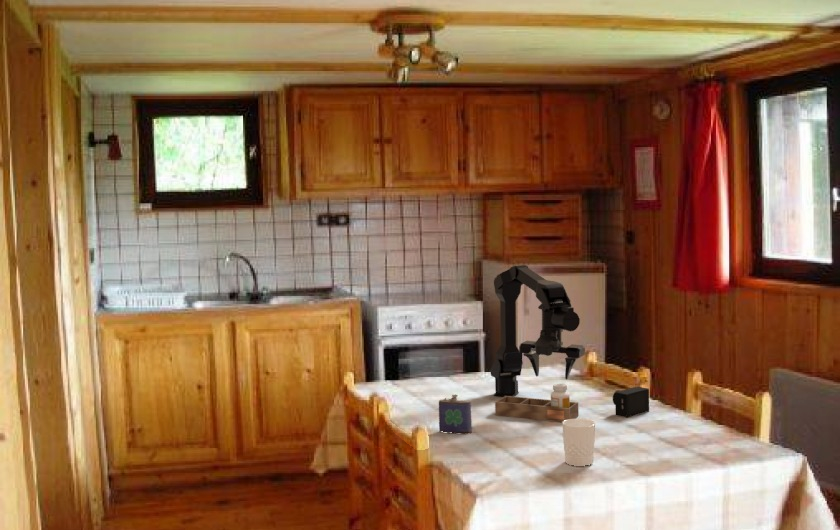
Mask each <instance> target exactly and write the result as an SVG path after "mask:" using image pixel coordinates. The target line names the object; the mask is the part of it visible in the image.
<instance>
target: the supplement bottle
mask: <svg viewBox="0 0 840 530" xmlns="http://www.w3.org/2000/svg"><path fill="white" fill-rule="evenodd" d="M552 390H553V391H552V392H551V393H550V400H551V407H560V408H569V407H570V402H571V400H570V393H569V391H568V384H565V383H554V384H552Z"/></svg>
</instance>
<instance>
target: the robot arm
mask: <svg viewBox="0 0 840 530" xmlns="http://www.w3.org/2000/svg"><path fill="white" fill-rule="evenodd" d="M523 285H524V286H526V287H527V288H529V289H530V290H532V291H533V292H534V293H535V297H536V299H537V300H538V301H539V302H540V303H541V304H539V306H538V310H541V330H540V332H539V337H538V338H537V339H536V341H535V340H526V341H523V342H521V343H520V344H519V346H517V315H516V314H517V312H516V310H517V307H516V306H517V305H516V303H517V300H518V298H519V297H520V295H521V292H522V286H523ZM493 286H494V292H495V296H496V297H497V299H498V300H499V302H500V305H499V306H500V311H499V312H500V313H499V314H500V315H499V316H500V346H499V347H498V349H497V351H496V353H495V360H494V362H493V364H492V366H491V368H490V370H489V371H490V376H491V377H492V378H494V385H495V389H494V390H495V393H493V396H496V397H505V396H512V397H515V396H517V394H519V393H520V391H519V380H517V376H518V377H519V376H521V373H522V369H523V364H524V362H523V356H524V357H527V359H528V360H529V362H530V364H531V367H532V370H533V372H534V374H535V376H536V377H539V374H540V355H542V356H543V355H544V356H547V357H548V356H552V355H553V353H557V354H565V356H566V357H565V358H564V360H565V373H564V377H565V381H566V380H568V379H569V377H570V374H571V371H572V369H573V366H574V365H575V363H576V361H577V360H578V359H579V358H582V357H583V356H585V355H586V349H585V348H586V347H584V345H582V344H573V343H572V344H570V345H567V346H563V345H564V344H563V343H564V342H563V341H562V333H563V331H566V332H574V331H575V330H577V329H578V327H579V325H580V324H581V323H580V321H581V319H580V317H579V315H578V313H577V312H576V311H574V309H575V308H574V307H572V303H571V299H570V297H569V296H568V294H567V291H566V289H565V286H564V285H563V284H562V283H561V282H558V281H554V280H548V279H545V278H544V277H543V276H541V275H540V274H538V273H536V272H535V271H534V270H532V269H530V268H529V266H528V265H526V264H518V265H517V264H516V265H513V266H511V267H509V269H507V270H505V271H503V272H501V273H499V274H497V275H496V277H494V279H493Z"/></svg>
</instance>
